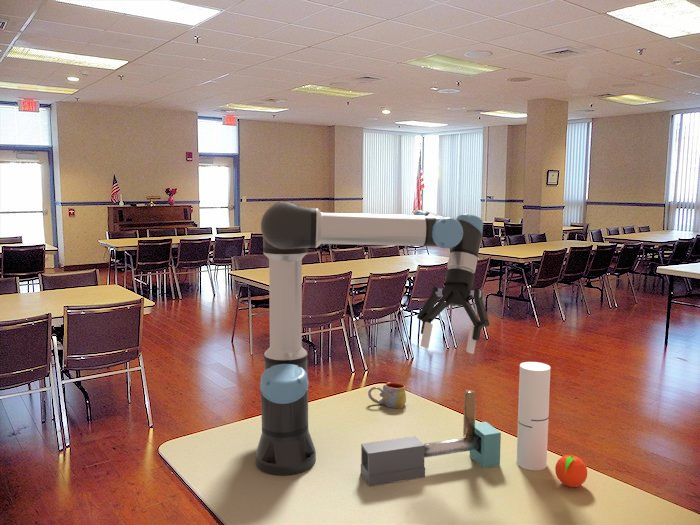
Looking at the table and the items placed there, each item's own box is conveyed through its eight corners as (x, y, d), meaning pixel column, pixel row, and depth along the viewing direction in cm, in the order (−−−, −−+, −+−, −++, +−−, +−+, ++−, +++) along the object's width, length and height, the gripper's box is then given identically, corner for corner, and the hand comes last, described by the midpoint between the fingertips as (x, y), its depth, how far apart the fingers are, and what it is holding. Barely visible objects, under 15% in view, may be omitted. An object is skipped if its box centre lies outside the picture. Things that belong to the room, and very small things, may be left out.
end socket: (469, 455, 148) (470, 423, 147) (485, 453, 149) (486, 421, 148) (483, 468, 141) (484, 435, 140) (499, 465, 142) (500, 432, 141)
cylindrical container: (548, 471, 139) (552, 371, 136) (517, 469, 140) (521, 369, 137) (544, 458, 146) (548, 362, 143) (515, 455, 147) (518, 361, 144)
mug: (406, 401, 185) (406, 381, 185) (405, 409, 179) (405, 389, 178) (369, 399, 187) (369, 380, 186) (366, 407, 181) (366, 387, 180)
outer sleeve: (360, 473, 139) (360, 442, 138) (414, 464, 143) (414, 435, 142) (369, 486, 133) (369, 454, 132) (425, 477, 137) (425, 446, 136)
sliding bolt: (417, 454, 141) (417, 395, 139) (482, 444, 146) (484, 387, 144) (422, 460, 138) (423, 400, 136) (489, 450, 143) (490, 392, 141)
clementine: (580, 498, 127) (581, 467, 126) (548, 488, 131) (550, 459, 130) (590, 483, 133) (591, 454, 133) (560, 474, 138) (561, 446, 137)
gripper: (510, 277, 148) (497, 358, 143) (428, 275, 164) (414, 347, 159) (497, 267, 142) (483, 352, 137) (414, 266, 159) (399, 341, 154)
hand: (446, 350), depth 148 cm, fingers open, 13 cm apart
